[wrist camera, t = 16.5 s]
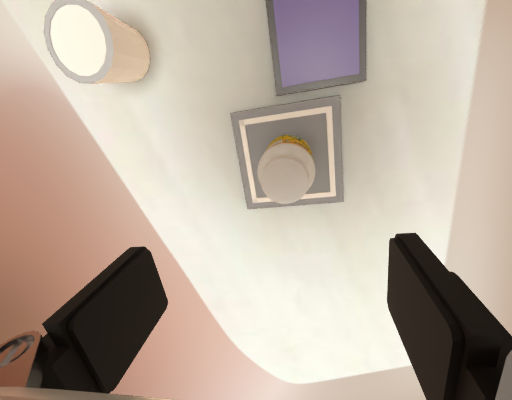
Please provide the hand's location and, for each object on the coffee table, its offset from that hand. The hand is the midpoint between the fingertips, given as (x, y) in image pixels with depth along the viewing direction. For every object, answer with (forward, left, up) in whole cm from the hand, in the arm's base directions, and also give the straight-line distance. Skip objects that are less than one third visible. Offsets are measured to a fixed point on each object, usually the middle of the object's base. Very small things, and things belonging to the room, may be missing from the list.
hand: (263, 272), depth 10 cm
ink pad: (-12, +4, -22) cm, 25 cm away
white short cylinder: (-14, -17, -22) cm, 31 cm away
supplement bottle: (0, 0, -22) cm, 22 cm away
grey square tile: (0, 0, -22) cm, 22 cm away
